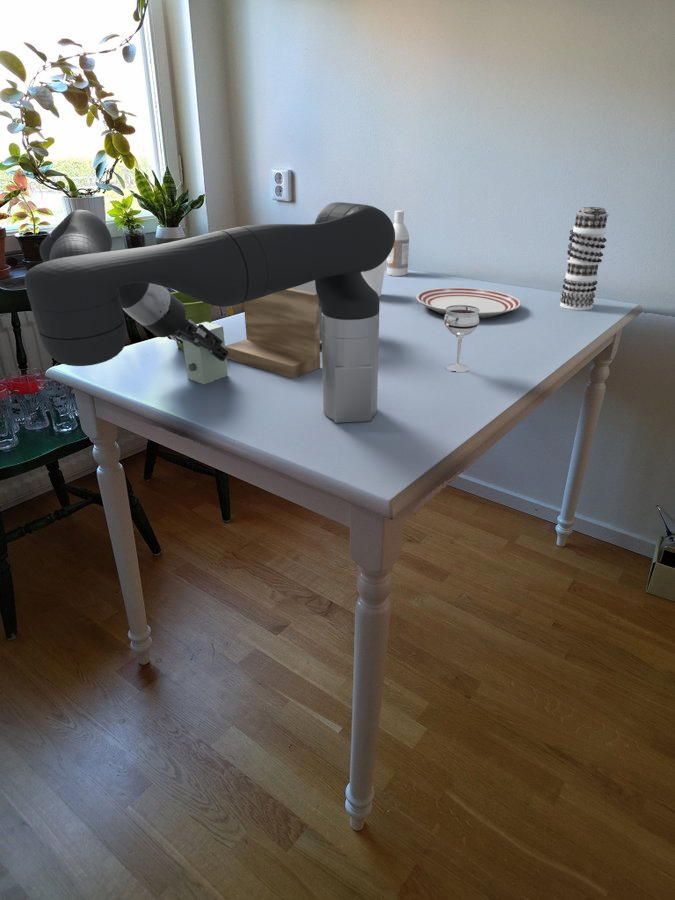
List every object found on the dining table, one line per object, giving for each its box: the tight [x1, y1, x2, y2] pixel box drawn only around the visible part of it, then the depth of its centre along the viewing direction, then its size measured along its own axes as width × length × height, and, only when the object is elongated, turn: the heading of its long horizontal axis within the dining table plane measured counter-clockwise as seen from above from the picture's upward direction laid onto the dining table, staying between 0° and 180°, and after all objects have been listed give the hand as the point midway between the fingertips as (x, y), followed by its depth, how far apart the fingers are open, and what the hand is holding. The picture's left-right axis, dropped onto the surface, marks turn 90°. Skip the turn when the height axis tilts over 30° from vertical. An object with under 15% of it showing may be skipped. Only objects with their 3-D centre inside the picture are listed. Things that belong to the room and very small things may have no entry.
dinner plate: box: [415, 286, 522, 319], centre depth 163 cm, size 27×27×3 cm
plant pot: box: [170, 291, 214, 351], centre depth 135 cm, size 12×12×11 cm
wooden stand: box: [225, 288, 321, 379], centre depth 124 cm, size 8×20×15 cm, turn 50°
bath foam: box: [386, 210, 410, 277], centre depth 200 cm, size 7×7×20 cm
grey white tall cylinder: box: [559, 206, 610, 311], centre depth 160 cm, size 9×9×25 cm
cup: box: [361, 259, 387, 298], centre depth 175 cm, size 9×9×12 cm
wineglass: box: [443, 305, 480, 373], centre depth 120 cm, size 7×7×12 cm
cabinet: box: [183, 322, 229, 385], centre depth 117 cm, size 7×5×10 cm
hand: (210, 352), depth 119 cm, fingers open, 8 cm apart
